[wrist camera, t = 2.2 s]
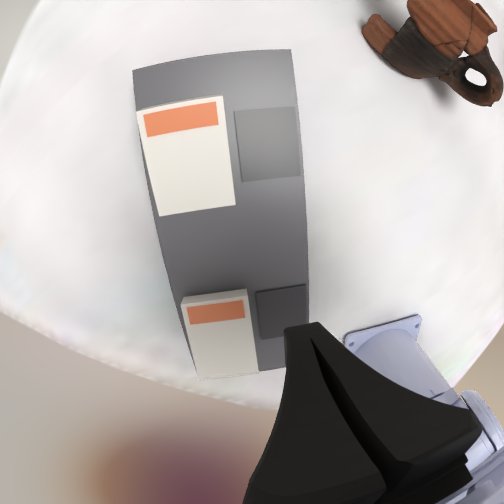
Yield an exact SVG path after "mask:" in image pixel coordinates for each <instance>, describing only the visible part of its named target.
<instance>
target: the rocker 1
mask: <svg viewBox="0 0 504 504" xmlns="http://www.w3.org/2000/svg"><path fill="white" fill-rule="evenodd" d="M136 115H137V120H138V126H139V131H140V136H141V141H142V145H143V150H144V155H145V159H146V164H147V168H148V173H149V177H150V181H151V185H152V189H153V194H154V198H155V201H156V205H157V209H158V213H159V217H160V216H166V215H172V214H178V213H184V212H190V211H197V210H203V209H210V208H217V207H224V206H231V205H236V203H235V195H234V187H233V178H232V170H231V162H230V153H229V145H228V136H227V128H226V119H225V110H224V102H223V95H222V94H219V95H211V96H204V97H198V98H192V99H186V100H180V101H175V102H170V103H165V104H160V105H155V106H151V107H147V108H142V109H141V110H139V111H137V112H136Z"/></svg>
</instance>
